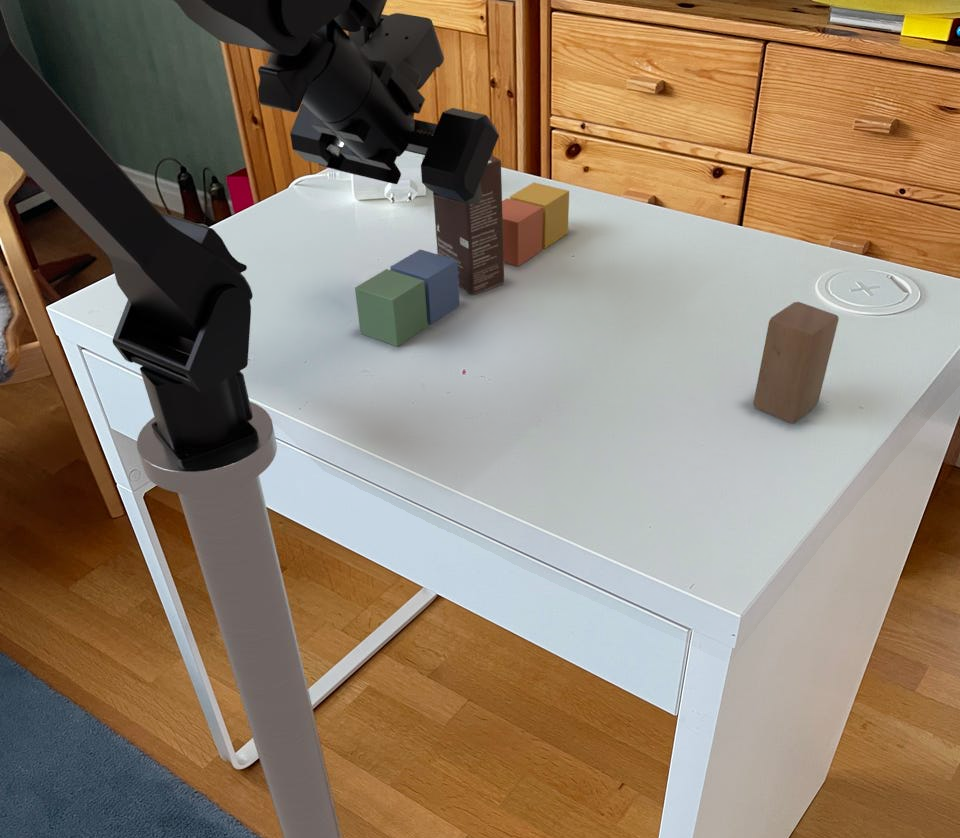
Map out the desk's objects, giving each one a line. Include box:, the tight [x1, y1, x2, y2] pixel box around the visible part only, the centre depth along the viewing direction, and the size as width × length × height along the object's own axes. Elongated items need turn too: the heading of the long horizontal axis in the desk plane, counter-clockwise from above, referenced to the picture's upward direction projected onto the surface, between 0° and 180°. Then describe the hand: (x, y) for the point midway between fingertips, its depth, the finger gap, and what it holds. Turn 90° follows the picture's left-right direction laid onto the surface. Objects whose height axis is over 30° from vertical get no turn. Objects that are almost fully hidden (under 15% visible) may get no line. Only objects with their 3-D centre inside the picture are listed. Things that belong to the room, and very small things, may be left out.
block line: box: [354, 181, 570, 347], centre depth 97 cm, size 29×4×4 cm, turn 144°
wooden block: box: [752, 301, 840, 424], centre depth 78 cm, size 4×4×8 cm
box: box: [432, 154, 505, 295], centre depth 94 cm, size 6×4×12 cm
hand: (437, 189), depth 89 cm, fingers open, 9 cm apart
